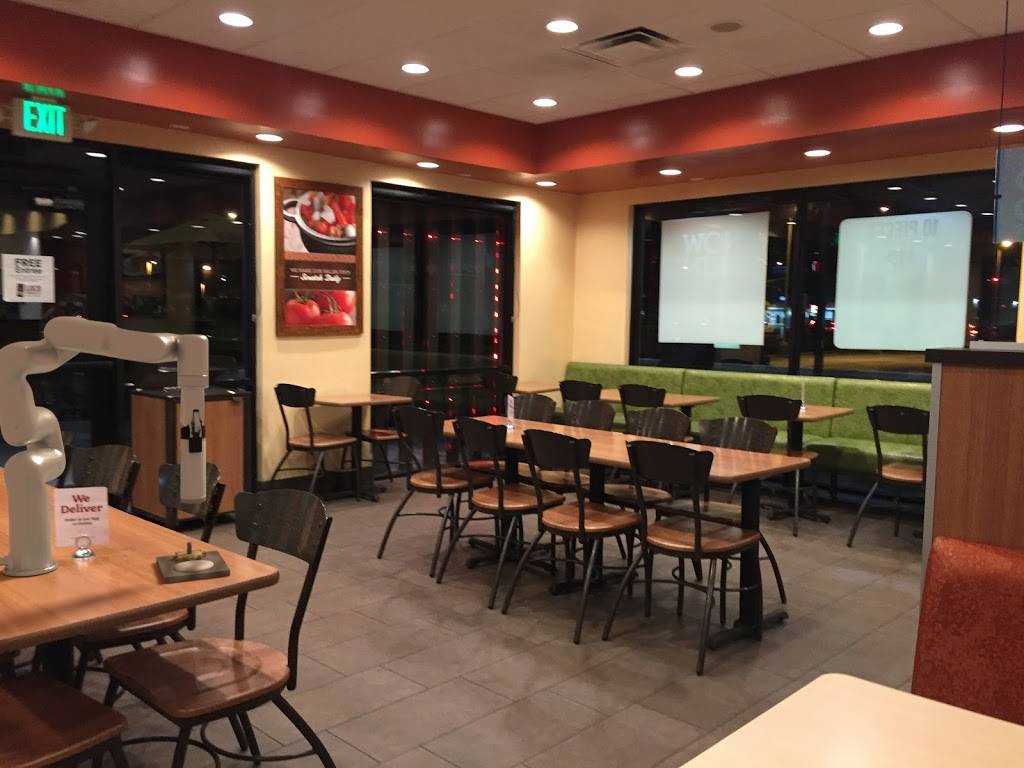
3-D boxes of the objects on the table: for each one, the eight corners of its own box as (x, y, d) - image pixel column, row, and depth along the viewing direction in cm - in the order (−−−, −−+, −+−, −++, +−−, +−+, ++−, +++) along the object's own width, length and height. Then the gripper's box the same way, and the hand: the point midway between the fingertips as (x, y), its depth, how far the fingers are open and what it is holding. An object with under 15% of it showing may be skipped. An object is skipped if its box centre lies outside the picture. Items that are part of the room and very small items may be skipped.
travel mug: (210, 499, 224) (210, 424, 222) (199, 504, 217) (198, 427, 216) (188, 498, 224) (187, 423, 223) (175, 503, 218) (175, 426, 216)
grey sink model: (164, 583, 212) (164, 561, 212) (156, 562, 230) (156, 541, 230) (230, 575, 220) (230, 554, 220) (217, 555, 238) (217, 535, 238)
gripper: (173, 379, 224) (174, 446, 226) (182, 384, 209) (182, 456, 210) (203, 379, 228) (203, 445, 229) (213, 384, 213) (213, 454, 214)
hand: (193, 449), depth 220 cm, fingers closed on travel mug, 6 cm apart
